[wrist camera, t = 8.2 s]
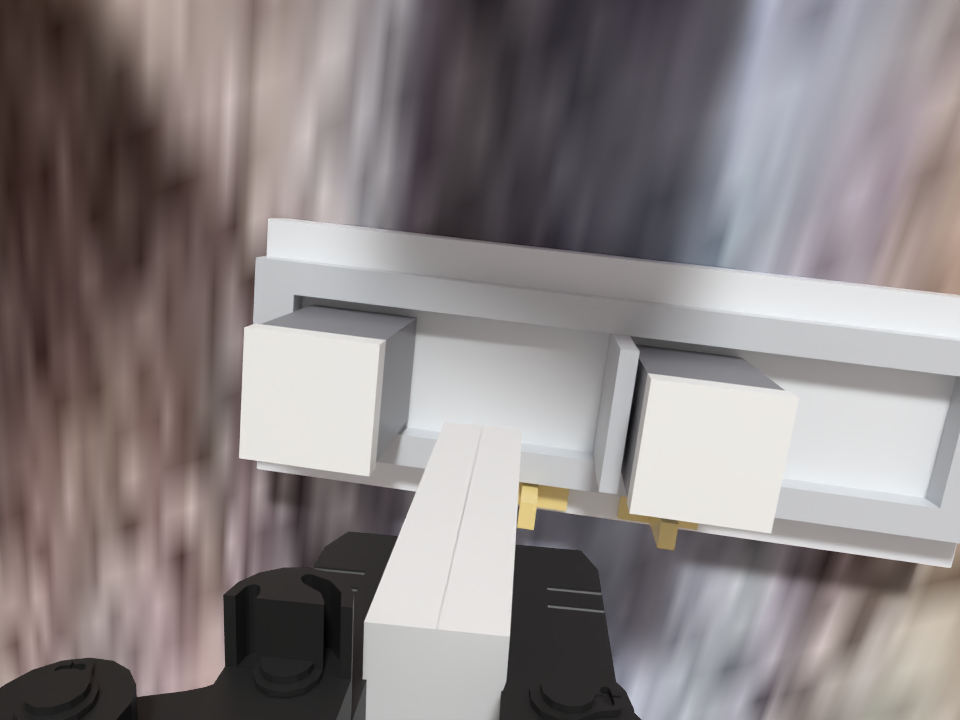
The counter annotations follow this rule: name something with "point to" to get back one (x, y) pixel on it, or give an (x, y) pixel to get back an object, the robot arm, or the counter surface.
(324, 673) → the robot arm
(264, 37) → the counter surface
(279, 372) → the left tab
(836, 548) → the switch bank
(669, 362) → the right tab
